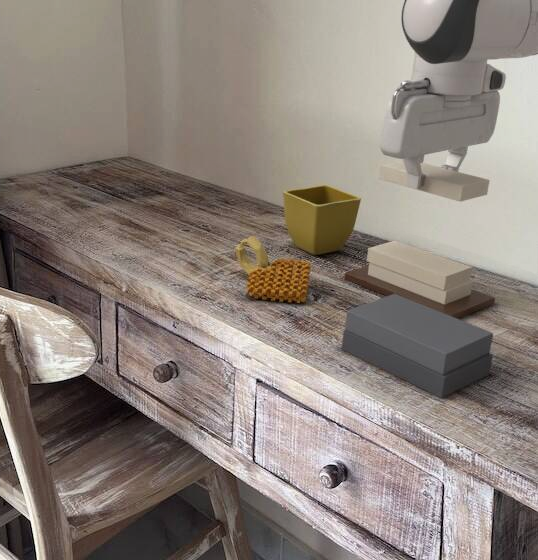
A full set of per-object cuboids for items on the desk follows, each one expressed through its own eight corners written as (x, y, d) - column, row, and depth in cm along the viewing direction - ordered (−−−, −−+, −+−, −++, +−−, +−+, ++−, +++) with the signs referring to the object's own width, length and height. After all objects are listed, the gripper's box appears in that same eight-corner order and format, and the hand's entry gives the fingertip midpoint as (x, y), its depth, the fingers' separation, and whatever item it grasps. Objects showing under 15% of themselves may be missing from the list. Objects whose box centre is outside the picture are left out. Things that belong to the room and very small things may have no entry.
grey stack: (489, 374, 91) (496, 334, 89) (441, 398, 86) (448, 356, 84) (389, 330, 101) (394, 293, 99) (341, 349, 96) (345, 310, 94)
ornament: (337, 264, 107) (266, 212, 117) (274, 295, 103) (206, 238, 112) (333, 303, 112) (265, 250, 121) (273, 334, 107) (207, 276, 117)
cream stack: (494, 304, 110) (500, 269, 108) (450, 322, 104) (456, 286, 102) (388, 264, 123) (392, 233, 121) (344, 278, 117) (347, 246, 115)
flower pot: (312, 262, 123) (317, 205, 119) (277, 245, 129) (281, 190, 126) (356, 253, 127) (362, 198, 124) (320, 237, 134) (325, 184, 130)
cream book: (487, 194, 105) (489, 179, 104) (460, 201, 101) (462, 186, 101) (405, 172, 114) (407, 158, 113) (378, 178, 110) (379, 164, 110)
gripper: (417, 85, 94) (402, 200, 99) (513, 74, 106) (495, 177, 111) (374, 78, 98) (362, 188, 103) (471, 68, 111) (456, 168, 116)
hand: (432, 183), depth 107 cm, fingers closed on cream book, 6 cm apart
